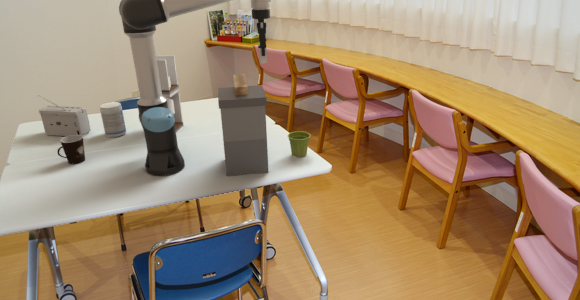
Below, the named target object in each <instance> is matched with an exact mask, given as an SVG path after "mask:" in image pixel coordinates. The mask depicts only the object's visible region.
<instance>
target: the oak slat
mask: <svg viewBox="0 0 580 300" xmlns="http://www.w3.org/2000/svg"><path fill="white" fill-rule="evenodd" d="M245 75H246V74H245V73H236V74H235V73H234V74H233V77H232V78H233V84H234V85H233V87H235V95H248V88H247V86H248V84H247V79H246V76H245Z"/></svg>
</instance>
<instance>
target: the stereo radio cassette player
mask: <svg viewBox="0 0 580 300" xmlns="http://www.w3.org/2000/svg"><path fill="white" fill-rule="evenodd" d="M37 97H40V98H42V99H43V100H46V101H47V102H49V103H50V104H52V105H47V106H45V107H42V108H40V109H38V113H39V115H40V117H41V121H42V125H43V129H44V132H45V134H46V136H57V137H58V136H60V137H67V136H71V135H81V136H83V137H84V136H85V135H87V134H89V133H90V132H91V125H90V119H89V116H88V111H87V108H86V107H85V106H84V107H81V106H61V105H58V104H56V103H53V102H52V101H50V100H48V99H47V98H45V97H42V96H41V95H37Z"/></svg>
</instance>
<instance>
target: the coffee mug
mask: <svg viewBox="0 0 580 300" xmlns="http://www.w3.org/2000/svg"><path fill="white" fill-rule="evenodd" d="M59 141H60V144H61V146H59V148H58V149H57V155H58V156H59V157H61V158H64V159H67V163H68V164H70V165H78V164H82V163H84V161H86V156H85V154H86V153H85V143H84V142H85V141H84V135H83V136H81V135H71V136H63V137H62V138H60V139H59ZM61 149H63V152H64V155H65V156H64V155H61V153H60V151H61Z"/></svg>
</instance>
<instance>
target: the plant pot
mask: <svg viewBox="0 0 580 300" xmlns="http://www.w3.org/2000/svg"><path fill="white" fill-rule="evenodd" d="M287 138H288V141H289V145H290V150H291V155H292V157H295V158H300V157H301V158H303V157H307V154H308V148H309V140H310V139H311V133H309V132H307V131H292V132H289V133H288V134H287Z"/></svg>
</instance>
